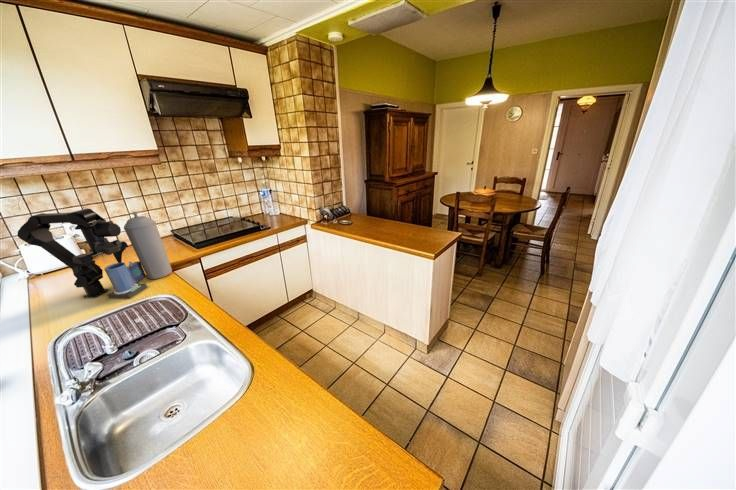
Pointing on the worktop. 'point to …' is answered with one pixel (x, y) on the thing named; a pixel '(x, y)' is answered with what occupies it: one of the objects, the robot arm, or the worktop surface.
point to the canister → (148, 246)
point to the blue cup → (119, 277)
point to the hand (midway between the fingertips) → (109, 268)
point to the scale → (128, 292)
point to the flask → (136, 271)
